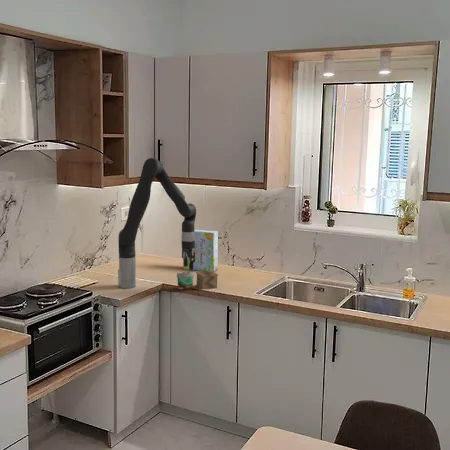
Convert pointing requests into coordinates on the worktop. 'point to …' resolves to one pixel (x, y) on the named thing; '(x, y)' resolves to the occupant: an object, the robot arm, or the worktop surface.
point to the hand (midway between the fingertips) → (188, 267)
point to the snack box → (205, 251)
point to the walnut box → (207, 279)
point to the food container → (185, 280)
